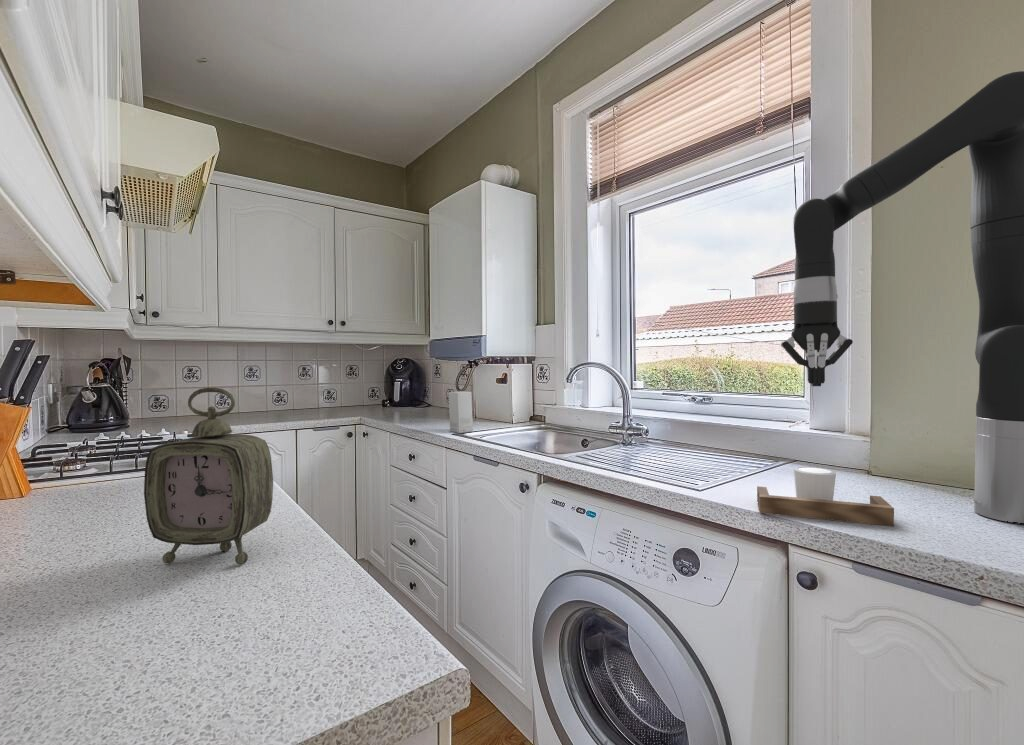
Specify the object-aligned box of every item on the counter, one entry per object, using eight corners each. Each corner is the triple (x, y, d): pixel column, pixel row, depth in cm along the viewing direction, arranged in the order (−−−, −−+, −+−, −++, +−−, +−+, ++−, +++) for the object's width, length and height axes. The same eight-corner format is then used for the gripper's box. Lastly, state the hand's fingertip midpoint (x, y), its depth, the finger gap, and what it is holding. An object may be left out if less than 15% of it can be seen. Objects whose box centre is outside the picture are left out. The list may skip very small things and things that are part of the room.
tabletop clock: (146, 569, 69) (140, 390, 69) (191, 544, 78) (186, 386, 78) (247, 570, 69) (242, 389, 68) (281, 545, 78) (276, 385, 77)
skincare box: (473, 432, 192) (472, 391, 191) (457, 433, 188) (457, 392, 188) (463, 429, 199) (463, 390, 198) (448, 430, 196) (447, 391, 195)
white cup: (843, 512, 90) (844, 474, 90) (803, 512, 91) (803, 473, 91) (824, 501, 97) (824, 466, 97) (787, 501, 98) (787, 465, 98)
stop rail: (880, 512, 90) (880, 496, 90) (893, 526, 83) (894, 508, 83) (757, 501, 98) (757, 486, 97) (759, 512, 91) (759, 496, 90)
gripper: (848, 300, 102) (849, 385, 103) (776, 305, 107) (777, 385, 108) (858, 296, 95) (859, 387, 96) (780, 301, 101) (781, 387, 101)
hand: (816, 386), depth 102 cm, fingers closed
